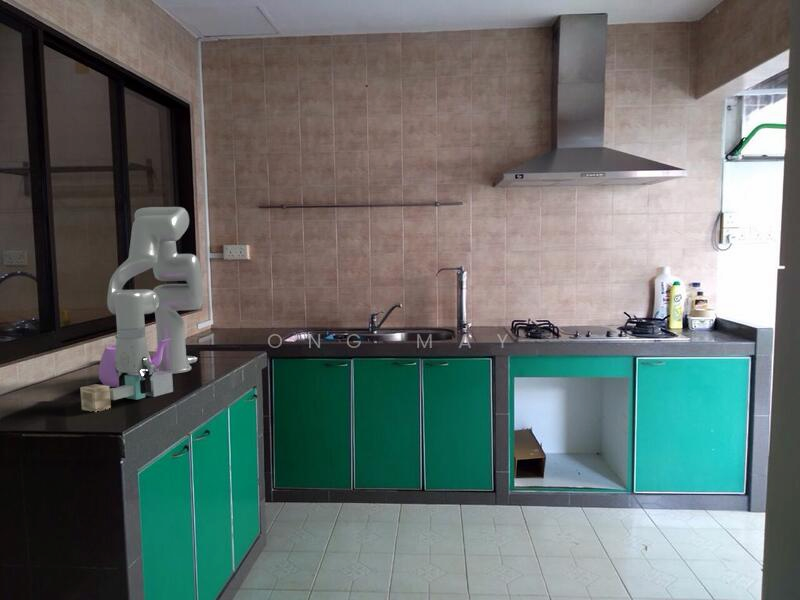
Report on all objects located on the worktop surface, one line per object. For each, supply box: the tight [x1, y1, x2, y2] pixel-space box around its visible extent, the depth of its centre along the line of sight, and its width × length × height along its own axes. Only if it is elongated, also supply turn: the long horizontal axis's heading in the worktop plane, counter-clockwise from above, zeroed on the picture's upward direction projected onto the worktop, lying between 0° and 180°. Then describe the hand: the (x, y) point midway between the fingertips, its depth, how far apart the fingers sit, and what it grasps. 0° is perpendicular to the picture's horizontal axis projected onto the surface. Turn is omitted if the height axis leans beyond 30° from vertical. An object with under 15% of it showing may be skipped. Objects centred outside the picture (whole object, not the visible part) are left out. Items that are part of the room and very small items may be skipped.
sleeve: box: [145, 371, 174, 398], centre depth 186 cm, size 7×6×6 cm
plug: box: [110, 374, 146, 401], centre depth 181 cm, size 18×5×7 cm, turn 150°
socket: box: [79, 383, 112, 413], centre depth 169 cm, size 4×6×6 cm
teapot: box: [98, 339, 170, 388], centre depth 200 cm, size 23×21×15 cm
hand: (135, 391), depth 180 cm, fingers open, 9 cm apart
